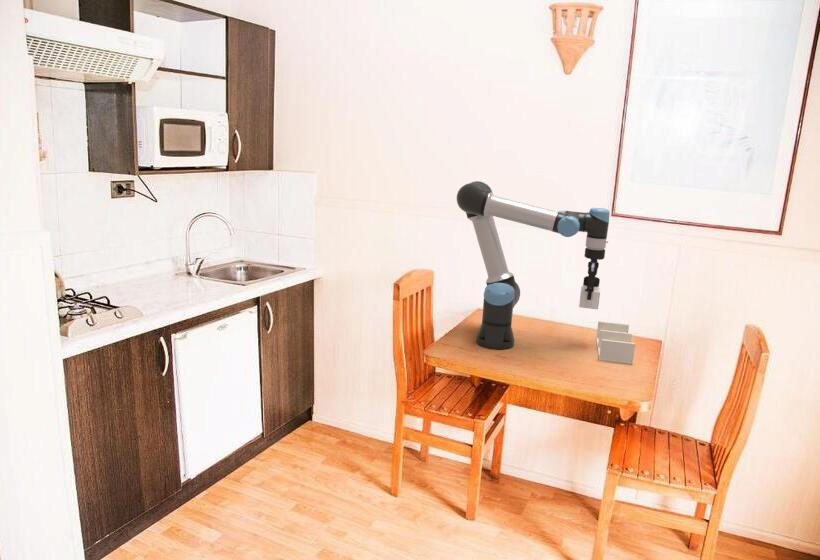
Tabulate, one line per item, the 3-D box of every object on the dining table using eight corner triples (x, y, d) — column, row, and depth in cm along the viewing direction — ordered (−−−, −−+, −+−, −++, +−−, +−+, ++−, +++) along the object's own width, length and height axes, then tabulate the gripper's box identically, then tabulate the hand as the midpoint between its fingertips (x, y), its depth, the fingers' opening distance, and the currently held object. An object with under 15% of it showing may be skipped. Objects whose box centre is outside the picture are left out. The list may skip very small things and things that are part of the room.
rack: (599, 360, 236) (601, 340, 234) (596, 339, 259) (598, 321, 257) (632, 364, 233) (635, 344, 231) (626, 342, 257) (628, 324, 255)
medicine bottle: (597, 309, 243) (601, 280, 240) (579, 307, 245) (582, 277, 242) (597, 305, 250) (601, 276, 247) (579, 302, 251) (582, 274, 249)
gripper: (604, 253, 231) (597, 312, 237) (606, 244, 250) (599, 299, 255) (583, 251, 233) (577, 310, 239) (586, 243, 252) (580, 297, 257)
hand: (588, 304), depth 247 cm, fingers closed on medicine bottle, 7 cm apart
